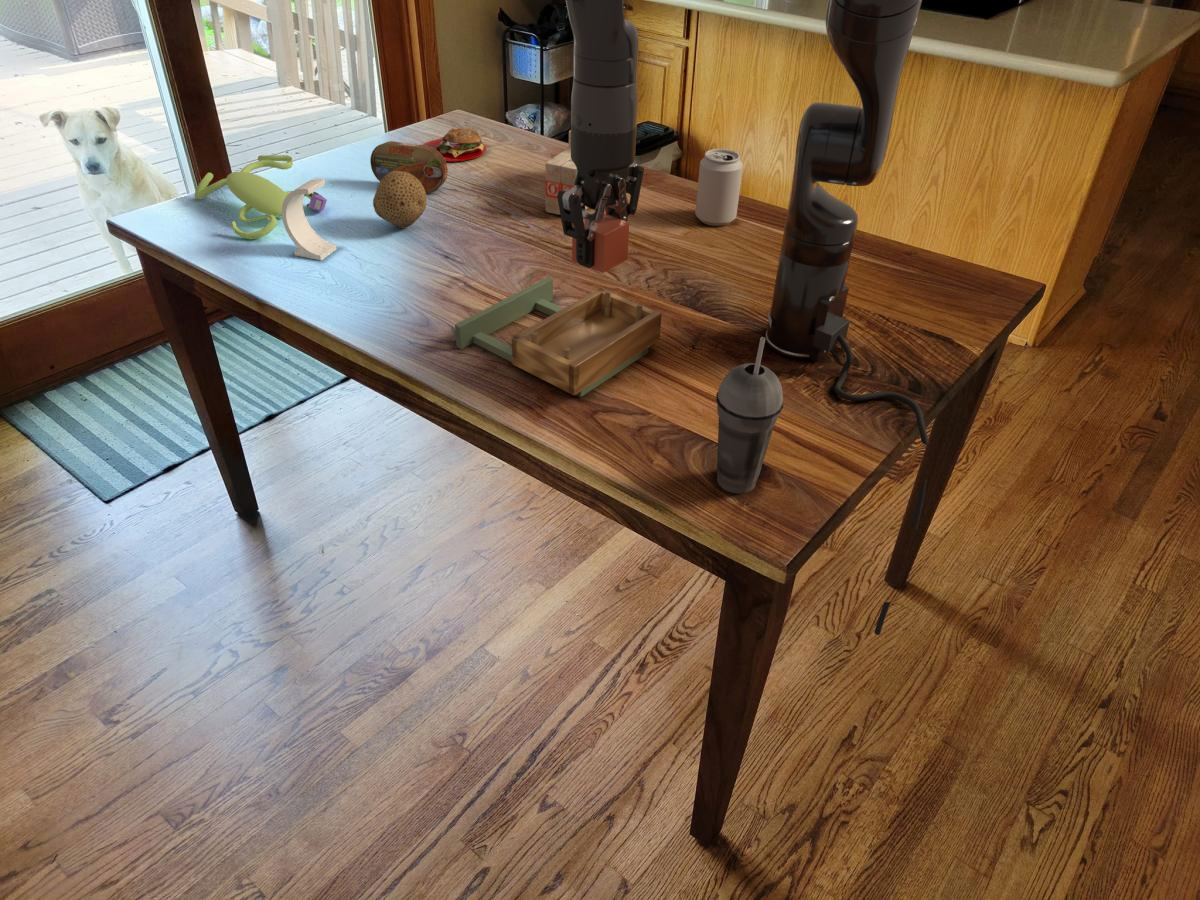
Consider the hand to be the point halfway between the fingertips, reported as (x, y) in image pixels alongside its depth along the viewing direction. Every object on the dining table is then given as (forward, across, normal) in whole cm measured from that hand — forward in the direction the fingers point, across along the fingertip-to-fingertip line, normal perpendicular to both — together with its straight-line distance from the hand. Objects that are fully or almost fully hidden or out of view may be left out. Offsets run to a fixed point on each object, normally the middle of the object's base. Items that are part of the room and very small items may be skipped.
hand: (600, 257), depth 109 cm
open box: (+15, 0, +2) cm, 15 cm away
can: (+16, +53, +15) cm, 57 cm away
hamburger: (+16, +45, +75) cm, 89 cm away
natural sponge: (+16, +12, +53) cm, 57 cm away
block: (0, 0, 0) cm, 0 cm away
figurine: (+16, +2, +80) cm, 81 cm away
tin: (+16, +26, +66) cm, 73 cm away
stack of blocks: (+16, +45, +39) cm, 62 cm away
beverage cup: (+17, -8, -27) cm, 33 cm away
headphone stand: (+16, -4, +58) cm, 60 cm away
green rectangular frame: (+16, 0, +8) cm, 18 cm away
